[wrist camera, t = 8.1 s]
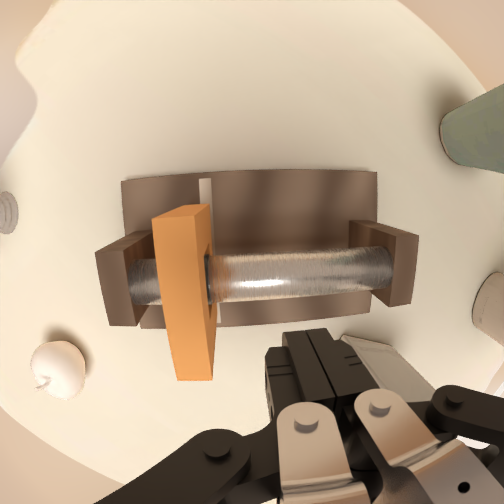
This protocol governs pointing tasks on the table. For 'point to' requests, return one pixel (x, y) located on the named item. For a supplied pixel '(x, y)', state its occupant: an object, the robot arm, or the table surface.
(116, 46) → the table surface
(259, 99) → the table surface
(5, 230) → the chalice
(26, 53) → the table surface
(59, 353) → the plain white apple
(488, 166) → the disposable coffee cup
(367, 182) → the pipe stand
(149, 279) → the pipe
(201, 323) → the square ring
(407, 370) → the skincare box
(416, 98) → the table surface
